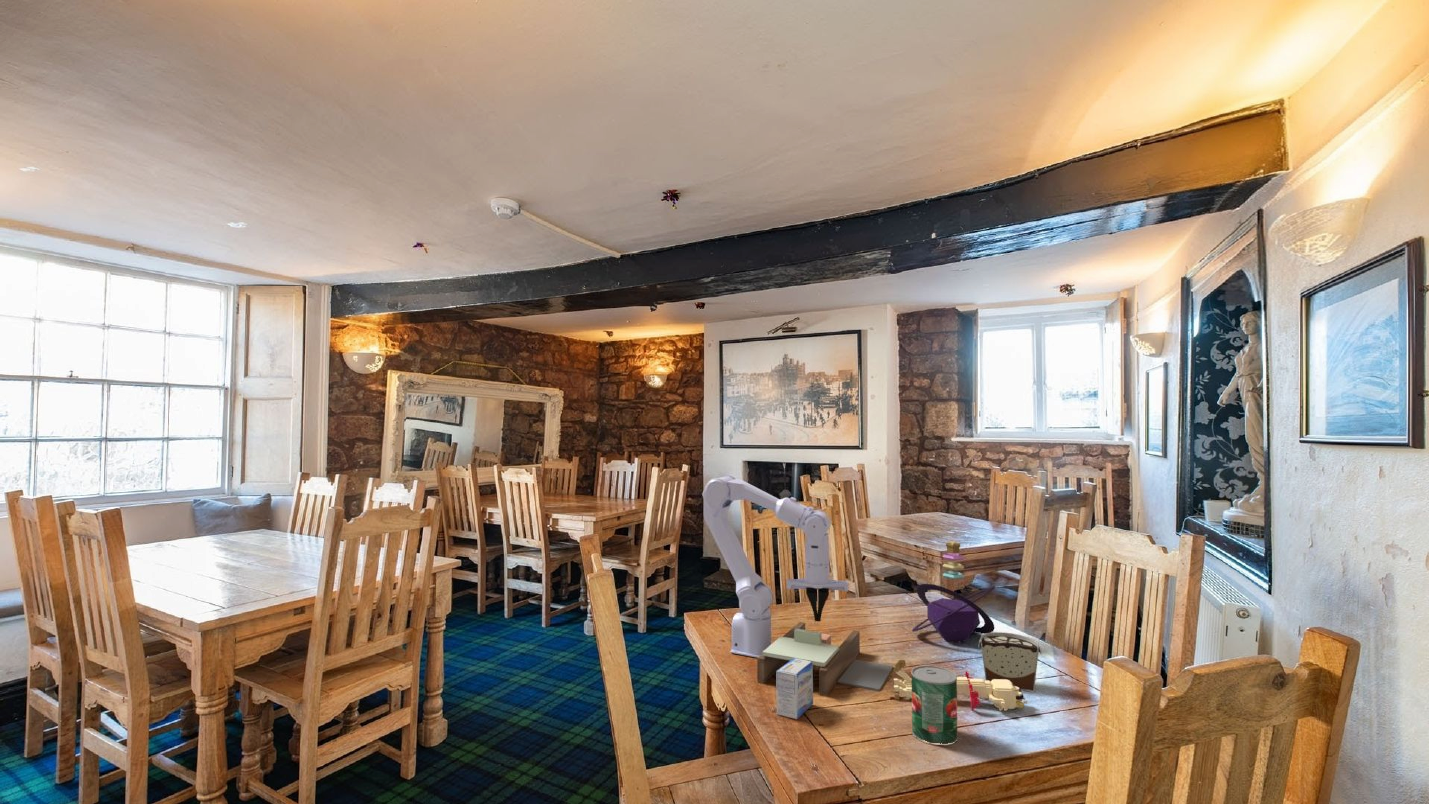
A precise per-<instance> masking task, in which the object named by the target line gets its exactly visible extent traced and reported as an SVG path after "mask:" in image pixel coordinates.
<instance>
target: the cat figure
mask: <svg viewBox="0 0 1429 804" xmlns="http://www.w3.org/2000/svg"><path fill="white" fill-rule="evenodd" d="M906 666H907V665H906V659H904V658H898V659H897V661H896V662H895V663H894V665H893V672H895V674H896V675H897V676H898V677H901V678H902V679H903V681H902V679H899V678H893V690H894V691H893V693H894V699H895V700H897V699H900V695H902V696H905V697H906V698H907V699H912V682H911V681H912V678H911V677H910V676H909V674H907V672H906V671H904V670H903V669H904V668H905V667H906ZM902 668H903V669H902ZM964 673H965V674H964V676H957V696H964V697H965V698H966V697H967V698H969V699H970V708H971V711H974V710H975V709H976V707H977V706H980V705H981V704H980V703H981V702H980V699H982V700H983V699H985V700H989V701H990V702H992V703H993V704H994V707H996V709H998V710H999V711H1003V710H1004V711H1008V710H1014V709H1016V708H1019V709H1020V708H1024V705H1026V704H1028V702H1027V701H1025V700H1026V697H1024V693H1022V690H1021V689H1019V687H1016V686H1013V685H1012V683H1011V682H1010V681H1009V680H1006V679H993V680H992V681H988V680H985V679H984V678H974V676H970V673H969V672H968V671H967V670H965V672H964ZM964 697H963V698H964ZM979 698H980V699H979ZM900 700H901V699H900Z"/></svg>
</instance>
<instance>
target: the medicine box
mask: <svg viewBox="0 0 1429 804" xmlns="http://www.w3.org/2000/svg"><path fill="white" fill-rule="evenodd" d="M813 667H814V665H813V663H812V662H811V661H807V660H803V659H797V658H793V659H792V660H791V661H790V660H788V661H787V662H786V663H784V664H783V665H782V666H781V667H780V668H779V669H778V670H777V671H776V672H775V673H776V674H775V675H776V679H775V681H776V684H775V685H776V714H777V715H779V716H781V717H785V718H789V719H794V720H798V719H799V718H800V717H801V716H802V715H804V713H805V712H806V711H807V710H808V709H809V708H811V706H813V704H814V683H813V682H814V681H813V680H814V679H813V678H814V677H813V676H814V675H813V673H814V671H813V669H814V668H813Z"/></svg>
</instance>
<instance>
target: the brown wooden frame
mask: <svg viewBox="0 0 1429 804" xmlns="http://www.w3.org/2000/svg"><path fill="white" fill-rule="evenodd" d="M795 629H802V630H806V622H803V621H802V622H801V621H800V622H798V623H797V624H796V625H794V626H793V627H792V628H791V629H789V630H788V631H787V632H786V633H785V634H784V635H783V636H782V637H787V638H793V639H794V630H795ZM860 634H861V633H860V630H854V629H853V631H852V632H850V634H848V636H847V637H846V638H845V639H844V640H843V642H842V643H841V644H839V645H838V646H839V650H838V652H837V653H836V654H835V655H834V656H833V657H832V659H831V660H830V661H829V662H828V663H827V664H826V666H825V667H823V666H820V668H819V670H818V672H819V673H818V675H819V677H818V679H819V682H818V684H819V686H818V692H819V693H818V694H819V696H824V697H827V696H828V694H830V692H831V691H832V690H833V688H834V687H835V686H836V685H837V684H838V680H839V679H840V678H841V676H842V675H843V674H844V672H845V671H846V670H847V668H848V667H849V666H850V665H851V663H852V662H853V661H854V659H855V660H856V658H857V657H858V655H860V653H861V651H860V649H861V646H860V643H861V642H860V640H861V639H860V637H861V635H860ZM756 658H757V657H756ZM756 662H757V664H756V666H757V667H756V668H757V669H756V671H757V672H756V674H757V676H756V677H757V683H760V684H765V683H766V682H767V681H768V680H769V679H770V678H771V677H772V676H773V675H774V674H775V673H776V671H777V670H779V669H780V668H781V667H783V666H784V665H785V664H786V663H788V662H789V660H784V659H779V658H774V657H768V656H763V654H762V655H760V656H759V657H758V658H757V661H756Z"/></svg>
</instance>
